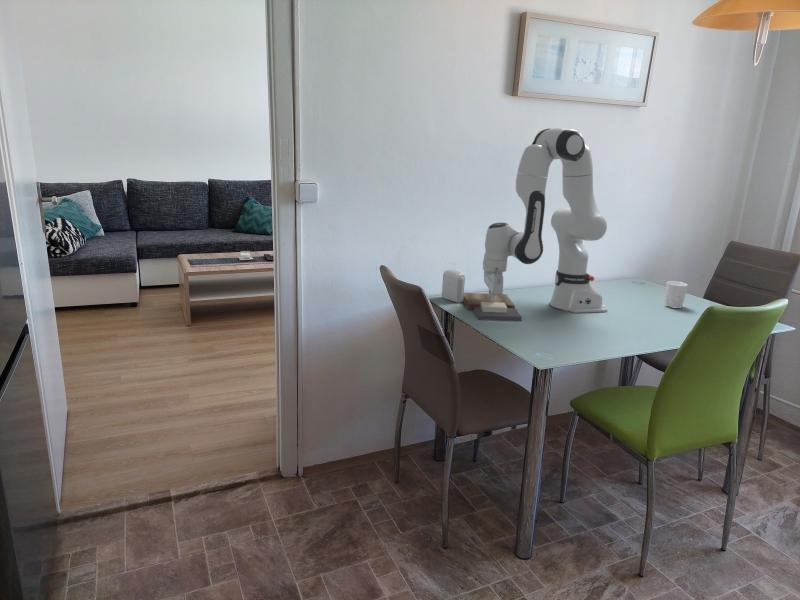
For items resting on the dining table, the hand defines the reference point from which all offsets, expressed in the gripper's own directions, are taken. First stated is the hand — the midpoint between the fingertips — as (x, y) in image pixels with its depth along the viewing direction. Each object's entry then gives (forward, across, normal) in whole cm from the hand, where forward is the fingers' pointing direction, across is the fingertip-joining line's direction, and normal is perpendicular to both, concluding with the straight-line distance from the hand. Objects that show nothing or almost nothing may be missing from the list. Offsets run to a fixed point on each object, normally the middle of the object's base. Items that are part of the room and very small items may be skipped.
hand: (491, 300), depth 224 cm
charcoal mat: (+4, -6, -1) cm, 8 cm away
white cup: (+4, +14, -79) cm, 80 cm away
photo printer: (+4, +13, +14) cm, 19 cm away
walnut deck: (+4, +7, 0) cm, 8 cm away
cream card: (+2, -4, 0) cm, 5 cm away
